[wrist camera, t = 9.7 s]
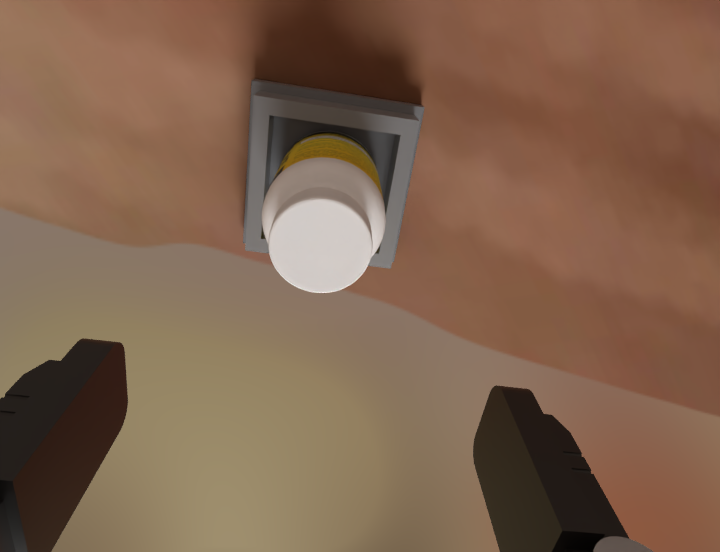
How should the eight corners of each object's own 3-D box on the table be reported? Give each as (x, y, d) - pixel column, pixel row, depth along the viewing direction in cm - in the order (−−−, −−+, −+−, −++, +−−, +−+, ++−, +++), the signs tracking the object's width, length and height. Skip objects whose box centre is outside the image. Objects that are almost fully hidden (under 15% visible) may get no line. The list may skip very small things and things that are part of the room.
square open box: (421, 105, 27) (430, 112, 24) (392, 255, 31) (397, 276, 28) (254, 78, 26) (244, 83, 23) (246, 236, 30) (236, 256, 27)
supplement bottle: (278, 126, 26) (246, 172, 17) (380, 131, 26) (400, 180, 18) (280, 222, 28) (252, 307, 20) (373, 227, 29) (387, 311, 20)
